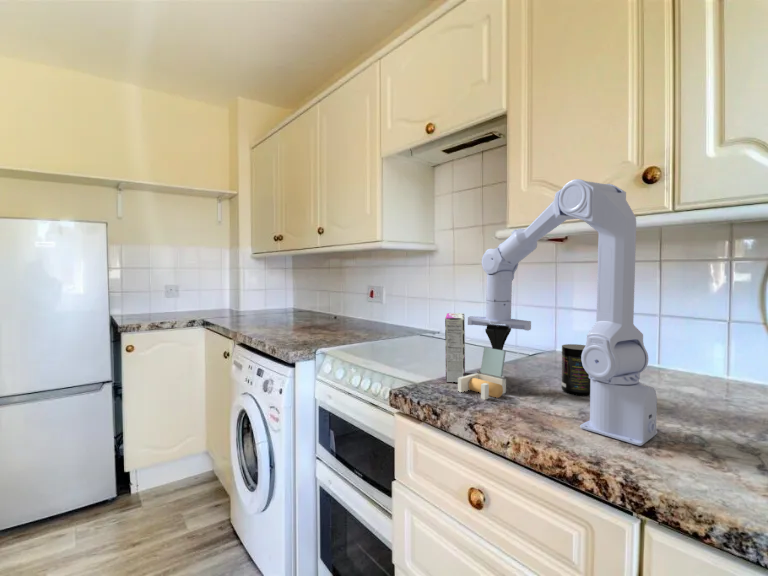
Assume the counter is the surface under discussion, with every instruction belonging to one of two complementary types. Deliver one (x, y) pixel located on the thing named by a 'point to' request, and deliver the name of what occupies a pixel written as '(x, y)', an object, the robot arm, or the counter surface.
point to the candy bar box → (455, 346)
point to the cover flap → (493, 361)
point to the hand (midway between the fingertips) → (497, 357)
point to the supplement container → (574, 371)
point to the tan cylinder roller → (494, 388)
